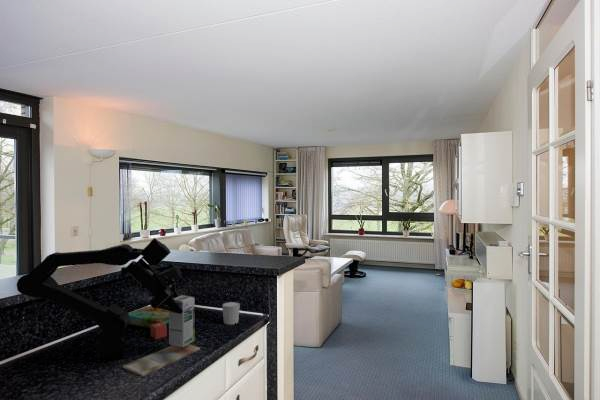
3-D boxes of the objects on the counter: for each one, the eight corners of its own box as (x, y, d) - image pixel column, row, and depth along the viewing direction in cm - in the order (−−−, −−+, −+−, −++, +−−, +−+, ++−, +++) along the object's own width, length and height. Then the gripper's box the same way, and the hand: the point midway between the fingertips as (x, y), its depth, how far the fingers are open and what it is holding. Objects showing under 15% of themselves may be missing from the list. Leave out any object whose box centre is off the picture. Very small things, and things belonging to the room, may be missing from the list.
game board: (142, 376, 100) (142, 374, 100) (122, 367, 105) (122, 365, 105) (200, 349, 118) (200, 347, 118) (181, 343, 123) (181, 341, 123)
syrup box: (183, 347, 114) (183, 301, 113) (168, 344, 116) (168, 299, 116) (194, 341, 119) (195, 296, 119) (180, 338, 121) (180, 294, 121)
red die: (155, 339, 126) (155, 327, 126) (150, 336, 129) (150, 324, 129) (166, 336, 129) (166, 324, 129) (161, 333, 132) (161, 321, 132)
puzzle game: (145, 304, 151) (184, 310, 144) (145, 315, 151) (183, 322, 144) (121, 312, 141) (162, 319, 133) (121, 324, 141) (162, 332, 133)
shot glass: (220, 320, 146) (221, 302, 146) (238, 318, 148) (238, 301, 148) (223, 325, 139) (223, 307, 139) (241, 323, 142) (241, 305, 142)
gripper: (162, 262, 107) (201, 298, 110) (168, 252, 125) (201, 283, 128) (133, 290, 105) (173, 326, 108) (143, 276, 123) (177, 307, 126)
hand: (182, 308), depth 117 cm, fingers closed on syrup box, 8 cm apart
